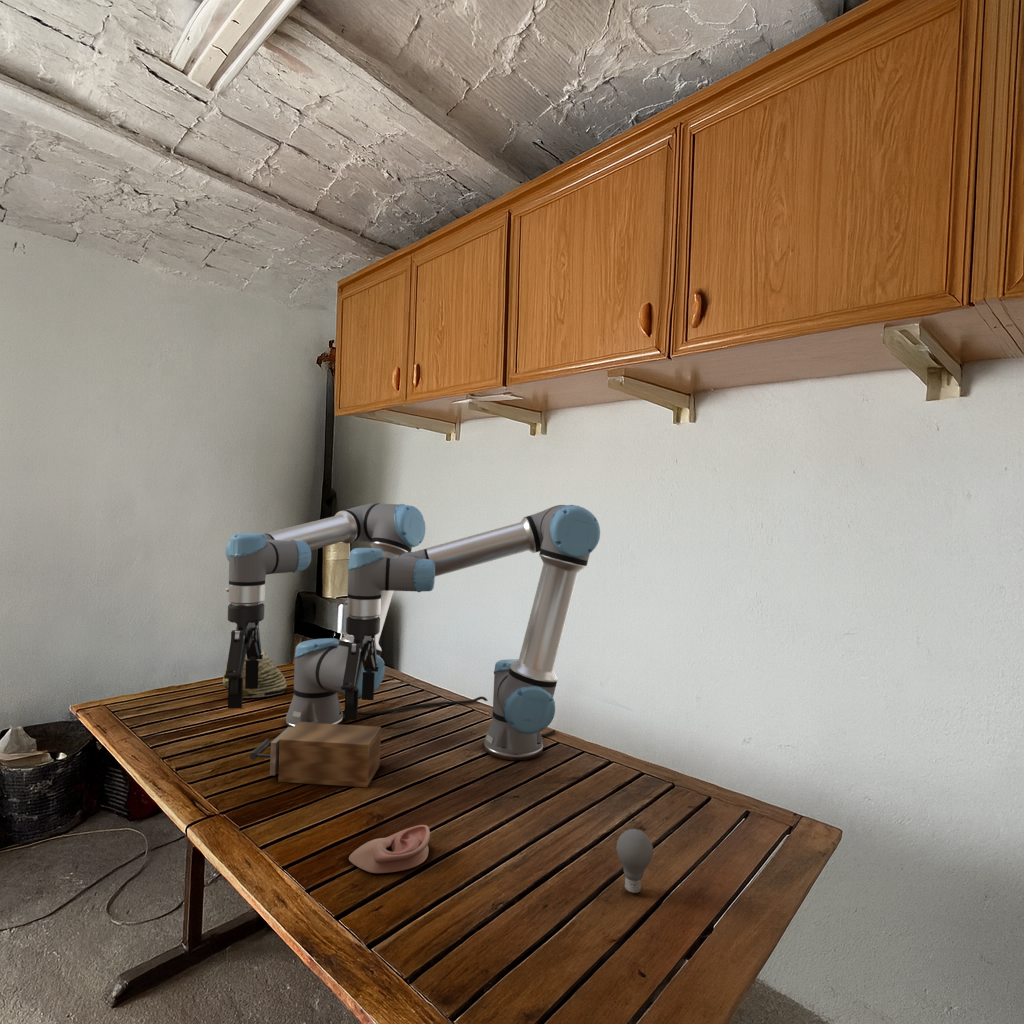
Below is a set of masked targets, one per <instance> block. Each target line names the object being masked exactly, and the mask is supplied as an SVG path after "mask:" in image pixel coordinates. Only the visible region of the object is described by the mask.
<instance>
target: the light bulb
mask: <svg viewBox="0 0 1024 1024" xmlns="http://www.w3.org/2000/svg"><path fill="white" fill-rule="evenodd" d="M615 849H616V854H617V857H618V859H619V861H620V863H621V865H622V867H623V873H624V874H623V875H624V876H625V878H624V888H625V890H627V891H628V892H630V893H634V894H635V893H639V892H640V891H641V889H642V887H641V886H642V879H643V877H644V875H645V871H646V868H647V867H648V866H649V864H650V863H651V861H652V859H653V855H654V847H653V843H652V841H651V838H649V836H648V835H647V834H646V833H645V832H643V831H642V830H641V829H636V828H629V829H627V830H625V831H623V832H622V833H621V834H620V835H619V837H618V839H617V841H616V847H615Z"/></svg>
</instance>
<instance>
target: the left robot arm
mask: <svg viewBox="0 0 1024 1024" xmlns="http://www.w3.org/2000/svg"><path fill="white" fill-rule="evenodd" d="M425 536H426V522H425V519H424V516H423V513H422V512H421V511H420V509H418V508H417V507H416V506H414V505H409V504H404V503H399V504H396V503H381V502H373V503H365V504H362V505H358V506H354V507H351V508H347V509H343V510H340V511H338V512H336V513H335V515H334V516H330V517H326V518H321V519H318V520H313V521H310V522H306V523H305V522H304V523H301V524H298V525H293V526H289V527H285V528H280V529H277V530H273V531H269V532H265V533H255V532H253V533H252V532H247V533H246V532H242V533H234V534H232V536H231V537H230V541H228V542H227V544H226V547H225V557H226V559H227V561H228V587H226V588H225V592H227V593H228V598H227V599H228V600H227V601H228V603H229V604H228V605H227V621H228V622H230V623H233V624H236V626H235V627H236V628H235V629H234V630H231V632H230V643H229V644H230V645H229V651H228V656H227V662H226V665H227V666H226V667H227V669H226V674H224V673H223V675H224V676H223V677H224V678H225V679H229V682H228V690H227V709H242V708H243V698H242V694H243V677H242V671H243V666H244V661H245V657H246V655H247V659H250V660H247V661H246V675H245V689H257V688H258V672H259V660H257V659H262V658H263V655H261V653H262V651H261V649H262V645H261V644H262V643H261V634H260V622H262V621H263V620H264V619H265V604H264V603H263V602H265V601H266V577H267V575H274V574H287V573H292V574H293V573H294V574H295V573H297V572H302V571H305V570H307V569H308V567H309V566H310V564H311V563H312V551H314V550H318V549H321V548H325V547H328V546H329V547H330V546H332V545H336V544H339V543H343V544H346V545H347V544H352V543H357V542H358V543H359V542H360V543H361V542H364V543H365V542H366V543H370V544H369V546H370V548H377V549H381V550H382V551H383V555H384V557H387V558H398V557H399V556H401V554H404V553H406V552H412V550H413V548H415V547H417V546H419V545H420V544H422V542H423V541H424V540H425V539H424V538H425ZM394 592H395V591H384V590H382V591H381V614H380V615H379V616H378V617H379V618H380V632H379V633H378V634H376V635H375V643H376V653H377V663H378V665H377V667H379V670H378V672H375V680H374V693H375V692H376V691H377V690H378V688H380V686H381V685H382V682H383V681H384V678H385V673H386V666H385V660H384V659H383V658H382V657H381V654H382V652H383V650H382V647H381V646H380V643H379V642H380V638H381V636H382V631H383V628H384V625H385V622H386V618H387V615H388V611H389V608H390V606H391V602H392V598H393V595H394ZM353 641H354V636H353V635H349V634H347V633H346V635H345V636H342V637H341V638H339V639H338V638H335V637H333V638H332V637H329V638H315V639H308V640H304V641H302V642H299V643H298V644H297V645H296V646H295V652H294V653H295V654H294V656H293V659H294V661H293V662H294V663H293V664H294V668H293V695H292V696H293V697H292V699H291V702H290V704H289V708H288V711H287V713H286V715H285V726H286V728H288V727H294V726H295V725H296V724H297V723H298V722H306V723H323V724H340V725H342V723H343V722H344V711H343V709H342V706H341V702H340V699H339V695H338V694H340V695H344V696H345V690H341V686H342V685H343V679H344V673H345V667H346V662H347V656H348V645H349V643H352V642H353ZM233 671H236V672H233ZM363 672H366V671H364V667H363V665H362V669H361V673H360V678H359V682H358V687H357V689H359V693H358V699H362V679H363ZM373 672H374V671H373ZM350 684H351V683H350ZM480 700H483V701H484V702H488V700H489V699H487V698H486V697H485V696H478V697H476V698H473V699H467V700H452V701H437V702H429V703H419V704H413V705H408V706H407V705H406V706H402V707H396V708H389V709H383V710H378V711H377V710H376V711H358V716H374V715H375V716H376V715H381V714H382V715H383V714H389V713H394V712H401V711H406V710H411V709H412V710H413V709H418V708H425V707H433V706H444V705H445V706H446V705H460V704H462V705H463V704H472V703H475V702H478V701H480Z"/></svg>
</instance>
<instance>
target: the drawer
mask: <svg viewBox="0 0 1024 1024" xmlns="http://www.w3.org/2000/svg"><path fill="white" fill-rule="evenodd" d="M292 728H293V727H286V728H285V729H284V730H283V731H282V732H280V734H279V735H277V736H276V737H275V738H274V739H273V740H271V739H269V738H265V740H264V741H262V742H261V743H260V744H259V745H258V746H257V747H256V748H254V749H253V750H252V751H250V752H249V755H248V758H249V759H250V760H253V761H254V760H256V759H257V758H264V759H270V760H269V761H270V763H269V776H276V775H277V774H279V748H280V739H281V738H282V737H283V736H284V735H285V734H286V733H287V732H289V731H290V730H291V729H292ZM269 747H270V754H269V753H264V752H265V751H266V750H267V749H268V748H269Z"/></svg>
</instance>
